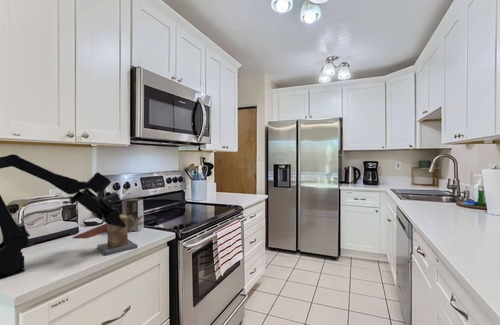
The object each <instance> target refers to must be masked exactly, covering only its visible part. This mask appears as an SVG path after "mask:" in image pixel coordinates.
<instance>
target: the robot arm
mask: <svg viewBox="0 0 500 325" xmlns="http://www.w3.org/2000/svg"><path fill="white" fill-rule="evenodd" d="M11 167H12V168H15V169H17V170H20V171H22V172H25V173H27V174H28V175H32V176H34V177H35V178H39V179H41V180H44V181H45V182H47V183H49V184H50V185H52V186H53V187H55V188H56V189H58V190H60V191H62V192H63V193H65V194H68V195H70V196H68V197H69V198H68V199H69V204H70V205H73V204H75V203H76V202H77V203H79V204H80V205H81V206H82V207H84V208H85V209H86V210H88V211H89V212H91V214H92V216H94V217H95V218H97V219H98V220H102V221H103V222H105V224H109V225H114V226H119V227H123V228H124V227H125V226H126V225H125V224H124V222H123V221H122V220H121V218H120V215H121V213H122V210H120V209H118V208H116V207H112V205H113V204H115V203H116V202H120V201H122V200H121V197H120V195H119V193H118V192H116V191H114V192H109V191H106V192H105V193H104V196H103V197H101V198H100V196H99V197H98V196H97V195H96V194H97V193H99V194H101V193H102V192H103V191H104V190H105V189H107V188H108V186H110V184H112V181H111V179H109V178H108V177H106V176H104V175H103V174H101V173H100V172H98V171H96V172H95V173H94V174H93V176H92V177H90V179H88V180H87V181H84V180H82V181H79V180H78V179H75V178H73V177H72V178H71V177H69V176H65V175H61V174H58V173H55V172H53V171H51V170H49V169H46V168H45V167H43V166H40V165H37V164H35V163H34V162H31V161H29V160H27V159H25V158H23V157H21V156H19V155H18V154H14V153H13V154H8V155H5V156H4V155H3V156H0V169H6V168H11ZM72 195H73V196H72ZM0 231H1V234H2V235H1V236H2V240H3V241H1V242H0V279H1V280H2V279H5V278H8V277H11V276H14V275H16V274H20V273H23V272H25V271H26V269H25V256H24V255H23V251H22V250H23V249H25V248H26V247H27V246H28V244H29V241H30V240H29V239H30V238H29V237H30V236H31V235H30V233H29V231H28V230H27V229H26V226H25V224H24V222H23V221H22V222H20V223H19V224H18V223H17V221H16V220H15V219H14V218H13V216H12V214H11V212H10V210H9V208H8V206H7V205H6V203H5V201H4V199H3V197H2V195H1V194H0Z"/></svg>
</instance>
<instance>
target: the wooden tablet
mask: <svg viewBox="0 0 500 325" xmlns="http://www.w3.org/2000/svg"><path fill="white" fill-rule="evenodd" d="M105 232H107V223H104V224H102V225H99V226H96V227H94V228H91V229H89V230H87V231H84V232H82V233H79V234H78V235H75V236H73V237H72V239H82V240H83V239H90V238H94V237H95V236H98V235H100V234H103V233H105Z"/></svg>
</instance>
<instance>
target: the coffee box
mask: <svg viewBox="0 0 500 325" xmlns="http://www.w3.org/2000/svg"><path fill="white" fill-rule="evenodd" d="M144 200H145V199H144V198H127V199H123V200H121V214H123V215H125V216H128V218H127V221H128V232H138V231H141V230H143V229H144V228H145V213H144V212H145V211H144V210H145V202H144Z"/></svg>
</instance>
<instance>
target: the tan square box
mask: <svg viewBox="0 0 500 325" xmlns="http://www.w3.org/2000/svg"><path fill="white" fill-rule="evenodd" d="M120 218H121V220H122V221H123V222H124V224H125V225H126V226H125V227H124V228H123V227H119V226H114V225H109V224H107V223H106V224H107V231H106V232H107V233H106V234H107V235H106V236H107V242H106V243H107V244H108V246H109V247H111V248H112V249H113V248H117V247H121V246H125V245H128V240H129V237H128V233H129V231H128V221H127V218H128V216H125V215H123V214H122V213H120Z"/></svg>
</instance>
